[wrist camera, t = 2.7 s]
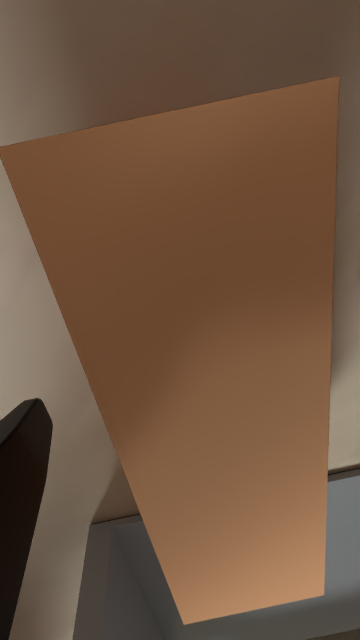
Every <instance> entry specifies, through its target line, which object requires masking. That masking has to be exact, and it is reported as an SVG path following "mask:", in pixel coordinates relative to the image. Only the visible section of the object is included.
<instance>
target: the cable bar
mask: <svg viewBox="0 0 360 640" xmlns="http://www.w3.org/2000/svg"><path fill="white" fill-rule="evenodd" d="M338 103H339V76H335V77H330V78H325V79H321V80H316V81H311V82H306V83H302V84H297V85H292V86H287V87H283V88H278V89H273V90H268V91H264V92H259V93H254V94H249V95H245V96H240V97H235V98H230V99H226V100H221V101H216V102H211V103H206V104H202V105H197V106H192V107H187V108H183V109H178V110H173V111H168V112H164V113H159V114H154V115H149V116H145V117H140V118H135V119H130V120H126V121H121V122H116V123H111V124H107V125H102V126H97V127H92V128H87V129H83V130H78V131H73V132H68V133H64V134H59V135H54V136H49V137H45V138H40V139H35V140H30V141H26V142H21V143H16V144H11V145H7V146H2V147H0V157H1V160H2V162H3V165H4V167H5V170H6V172H7V175H8V178H9V180H10V183H11V185H12V188H13V190H14V193H15V195H16V198H17V201H18V203H19V206H20V208H21V211H22V213H23V216H24V218H25V221H26V223H27V226H28V229H29V231H30V234H31V236H32V239H33V241H34V244H35V246H36V249H37V252H38V254H39V257H40V259H41V262H42V264H43V267H44V269H45V272H46V274H47V277H48V280H49V282H50V285H51V287H52V290H53V292H54V295H55V297H56V300H57V303H58V305H59V308H60V310H61V313H62V315H63V318H64V320H65V323H66V325H67V328H68V331H69V333H70V336H71V338H72V341H73V343H74V346H75V348H76V351H77V354H78V356H79V359H80V361H81V364H82V366H83V369H84V371H85V374H86V376H87V379H88V382H89V384H90V387H91V389H92V392H93V394H94V397H95V399H96V402H97V405H98V407H99V410H100V412H101V415H102V417H103V420H104V422H105V425H106V427H107V430H108V433H109V435H110V438H111V440H112V443H113V445H114V448H115V450H116V453H117V456H118V458H119V461H120V463H121V466H122V468H123V471H124V473H125V476H126V478H127V481H128V484H129V486H130V489H131V491H132V494H133V496H134V499H135V501H136V504H137V507H138V509H139V512H140V514H141V517H142V519H143V522H144V524H145V527H146V529H147V532H148V535H149V537H150V540H151V542H152V545H153V547H154V550H155V552H156V555H157V558H158V560H159V563H160V565H161V568H162V570H163V573H164V575H165V578H166V580H167V583H168V586H169V588H170V591H171V593H172V596H173V598H174V601H175V603H176V606H177V609H178V611H179V614H180V616H181V619H182V621H183V624H184V625H186V624H190V623H195V622H200V621H204V620H209V619H214V618H219V617H223V616H228V615H233V614H237V613H242V612H247V611H252V610H256V609H261V608H266V607H270V606H275V605H280V604H285V603H289V602H294V601H299V600H303V599H308V598H313V597H318V596H322V595H324V583H325V549H326V515H327V481H328V446H329V412H330V378H331V343H332V309H333V275H334V240H335V206H336V172H337V138H338Z"/></svg>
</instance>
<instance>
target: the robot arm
mask: <svg viewBox="0 0 360 640" xmlns="http://www.w3.org/2000/svg"><path fill="white" fill-rule="evenodd" d="M52 429H53V424H52V420H51V418H50V416H49V413H48V411H47V409H46V407H45V405H44V403H43V401H42V400H41V399H39V398H35V399H30V400H25V401H23V402H22V403H21V404H20V405H18V406H17V407H16V408H15V409H14V410H12V411H11V412H10V413H9V414H8V415H6V416H5V417H4V418H3V419H2V420H1V421H0V640H8V639H9V635H10V631H11V627H12V623H13V618H14V614H15V610H16V606H17V601H18V597H19V593H20V589H21V585H22V580H23V576H24V572H25V568H26V564H27V559H28V555H29V551H30V547H31V542H32V538H33V534H34V530H35V526H36V521H37V517H38V513H39V509H40V504H41V500H42V496H43V492H44V487H45V483H46V477H47V470H48V462H49V454H50V446H51V438H52Z"/></svg>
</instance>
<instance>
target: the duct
mask: <svg viewBox="0 0 360 640" xmlns="http://www.w3.org/2000/svg"><path fill="white" fill-rule="evenodd" d="M355 629H360V469H356V470H351V471H347V472H342V473H337V474H332V475H328V481H327V515H326V549H325V583H324V595H322V596H318V597H313V598H308V599H303V600H299V601H294V602H289V603H285V604H280V605H275V606H270V607H266V608H261V609H256V610H252V611H247V612H242V613H237V614H233V615H228V616H223V617H219V618H214V619H209V620H204V621H200V622H195V623H190V624H186V625H184V624H183V621H182V619H181V616H180V614H179V611H178V609H177V606H176V603H175V601H174V598H173V596H172V593H171V591H170V588H169V586H168V583H167V580H166V578H165V575H164V573H163V570H162V568H161V565H160V563H159V560H158V558H157V555H156V552H155V550H154V547H153V545H152V542H151V540H150V537H149V535H148V532H147V529H146V527H145V524H144V522H143V519H142V517H141V515H136V516H131V517H126V518H121V519H117V520H112V521H107V522H102V523H97V524H93V525H90V527H89V534H88V540H87V547H86V554H85V560H84V567H83V573H82V580H81V587H80V593H79V600H78V607H77V613H76V620H75V626H74V633H73V640H307V639H312V638H317V637H322V636H326V635H331V634H336V633H341V632H346V631H350V630H355Z"/></svg>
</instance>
